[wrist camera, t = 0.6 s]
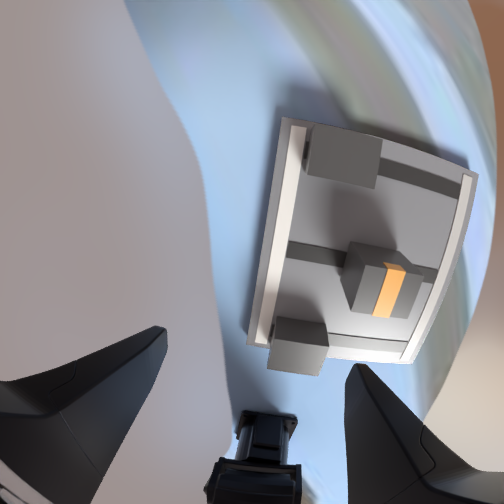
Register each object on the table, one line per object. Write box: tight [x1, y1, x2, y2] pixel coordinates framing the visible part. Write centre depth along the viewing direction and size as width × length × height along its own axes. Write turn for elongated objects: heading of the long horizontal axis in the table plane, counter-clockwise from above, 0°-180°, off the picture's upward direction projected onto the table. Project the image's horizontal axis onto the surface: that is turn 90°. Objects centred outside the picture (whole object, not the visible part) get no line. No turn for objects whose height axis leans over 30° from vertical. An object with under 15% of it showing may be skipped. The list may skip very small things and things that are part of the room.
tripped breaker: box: [340, 241, 424, 319], centre depth 17 cm, size 3×4×5 cm
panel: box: [246, 117, 479, 376], centre depth 18 cm, size 18×16×4 cm
